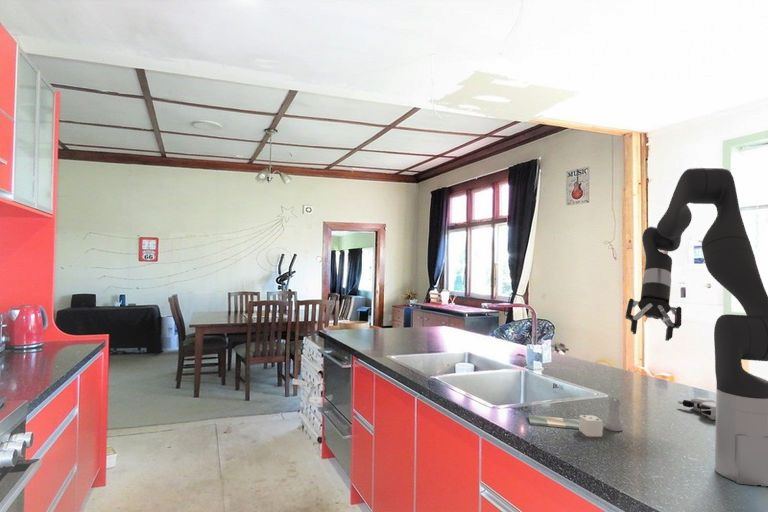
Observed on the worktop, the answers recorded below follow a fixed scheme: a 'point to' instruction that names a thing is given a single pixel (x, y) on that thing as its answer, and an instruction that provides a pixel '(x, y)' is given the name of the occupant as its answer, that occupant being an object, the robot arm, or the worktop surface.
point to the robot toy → (702, 406)
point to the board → (554, 422)
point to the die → (590, 425)
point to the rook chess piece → (614, 415)
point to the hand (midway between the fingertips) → (650, 336)
